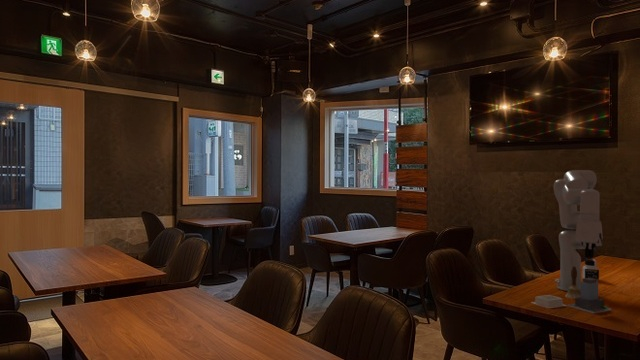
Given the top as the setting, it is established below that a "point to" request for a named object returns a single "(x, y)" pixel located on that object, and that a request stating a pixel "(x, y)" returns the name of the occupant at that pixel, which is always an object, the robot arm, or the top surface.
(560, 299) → the box
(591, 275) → the medicine bottle
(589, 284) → the plug
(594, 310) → the port
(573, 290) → the hand bell
